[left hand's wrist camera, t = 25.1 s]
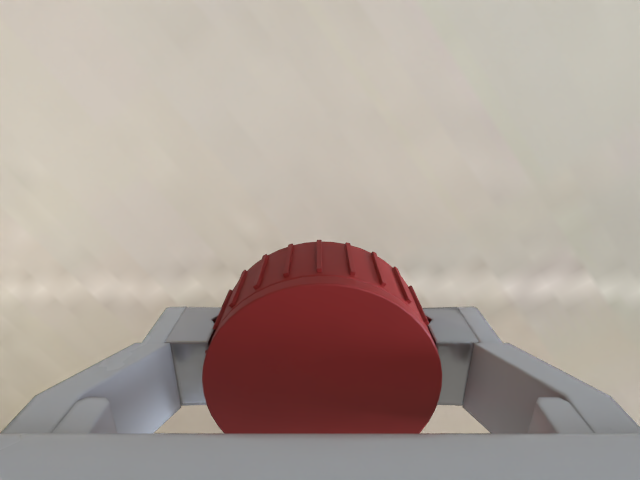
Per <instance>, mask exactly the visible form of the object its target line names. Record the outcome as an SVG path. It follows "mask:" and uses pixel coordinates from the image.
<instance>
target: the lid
mask: <svg viewBox="0 0 640 480" xmlns="http://www.w3.org/2000/svg"><path fill="white" fill-rule="evenodd" d="M428 324H429V322H428V319H427V317H426V315H425V313H424V311H423V309H422V307H421V305H420V302H419V300H418V298H417V296H416V294H415V292H414V290H413V288H412V286H409V287H408V285H407V284H406V282H405V281H404V280H403V278H402V277H401V275H400V273H399V271H398V269H397V268H396V267H394V268H393V267H391V266H390V265H389V264H388V263H386V262H385V261H384V260H382V259H381V258H379V257H377V254H376V253H375V252H372V253H370V252H368V251H365V250H363V249H361V248H358V247H354V246H351V245H350V243H345V244H341V243H335V242H321V240H317V242H309V243H302V244H297V245H293V244H289V245H288V247H286V248H283V249H280V250H278V251H276V252H274V253H272V254H270V255H267V254H265V255H264V256H263V257H262V260H260V261H259V262H257V263H256V264H255V265H253V266H252V267H251V268H250V269H249V270H248V271H246V270H244V271H243V272H242V274H241V277H240V279H239V281H238V283H237V284H236V286H235V288H234V289H233V291H232V290H229V292H228V294H227V296H226V299H225V301H224V303H223V305H222V308H221V310H220V312H219V315H218V317H217V319H216V321H215V324H214V326H213V329H215V330H216V331H215V333H214V336H213V338H212V340H211V343H210V345H209V347H208V350H205V353H206V355H205V359H204V363H203V371H202V384H203V393H204V397H205V400H206V404H207V406H208V409H209V411H210V413H211V415H212V417H213V419H214V420H215V422H216V423H217V425H218V426H219V427H220V429H221V430H222V431H223V432H224V433H225V434H419V433H420V432H421V431H422V429H423V428H424V427H425V426H426V424H427V423H428V422H429V420H430V418H431V416H432V415H433V413H434V411H435V409H436V406H437V403H438V401H439V397H440V392H441V387H442V368H441V361H440V357H439V354H438V351H437V348H436V346H435V343H434V341H433V339H432V336H431V334H430V332H429V330H428Z"/></svg>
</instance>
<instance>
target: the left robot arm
mask: <svg viewBox="0 0 640 480" xmlns="http://www.w3.org/2000/svg"><path fill="white" fill-rule="evenodd" d="M422 309H423V311H424V313H425V315H426V317H427V319H428V322H429V324H428V330H429V332H430V334H431V336H432V339H433V341H434V343H435V346H436V348H437V351H438V354H439V357H440V361H441V368H442V387H441V392H440V397H439V401H438V403H437V405H463V408H464V409H465V410H466V411H467V412H469V413H470V414H471V415H472V416H473V417H474V418H475V419H476V420H477V421H478V422H479V423H481V424H482V425H483V426H484V427H485V428H486V429H487V430H488V431H489V432H490V433H491V434H153V433H154V432H155V431H156V430H157V429H158V428H159V427H160V426H161V425H163V424H164V423H165V422H166V421H167V420H168V419H169V418H170V417H171V416H172V415H173V414H174V413H176V412H177V411H178V410H179V409H180V408H181V405H207V404H206V400H205V397H204V393H203V384H202V371H203V363H204V359H205V355H206V353H205V350H208V347H209V345H210V343H211V340H212V338H213V336H214V333H215V331H216V330H215V329H213V326H214V324H215V321H216V319H217V317H218V315H219V312H220V310H221V308H220V307H168V308H166V309H165V310H164V312H163V313H162V315H161V316H160V317H159V319H158V320H157V322H156V323H155V324H154V326H153V327H152V329H151V330H150V331H149V333H148V334H147V336H146V337H145V339H144V340H143V341H142V343H134V344H132V345H131V346H129V347H127V348H125V349H123V350H121V351H119V352H117V353H115V354H113V355H112V356H110V357H108V358H106V359H104V360H102V361H100V362H98V363H96V364H94V365H93V366H91V367H89V368H87V369H85V370H83V371H81V372H79V373H77V374H75V375H74V376H72V377H70V378H68V379H66V380H64V381H62V382H60V383H58V384H56V385H55V386H53V387H51V388H49V389H47V390H45V391H43V392H41V393H39V394H37V395H36V396H34V397H33V399H32V400H31V401H30V402H29V403H28V404H27V405H26V406H25V407H24V408H23V409H22V410H21V411H20V412H19V414H18V415H17V416H16V417H15V418H14V419H13V420H12V421H11V422H10V423H9V424H8V425H7V426H6V428H5V429H4V430H3V431H2V432H1V433H0V480H640V427H639V426H638V425H637V424H636V423H635V421H634V420H633V419H632V418H631V417H630V416H629V415H628V414H627V413H626V412H625V411H624V410H623V409H622V408H621V407H620V406H619V405H618V403H617V402H616V401H615V400H614V399H613V398H612V397H611V396H609V395H607V394H605V393H603V392H602V391H600V390H598V389H596V388H594V387H592V386H590V385H588V384H586V383H584V382H582V381H581V380H579V379H577V378H575V377H573V376H571V375H569V374H567V373H565V372H563V371H561V370H559V369H558V368H556V367H554V366H552V365H550V364H548V363H546V362H544V361H542V360H540V359H538V358H537V357H535V356H533V355H531V354H529V353H527V352H525V351H523V350H521V349H519V348H517V347H516V346H514V345H512V344H510V343H502V341H501V340H500V339H499V337H498V336H497V334H496V333H495V332H494V330H493V329H492V328H491V326H490V325H489V324H488V322H487V321H486V319H485V318H484V317H483V315H482V314H481V313H480V311H479V310H478V308H476V307H474V306H473V307H443V308H422Z"/></svg>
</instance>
